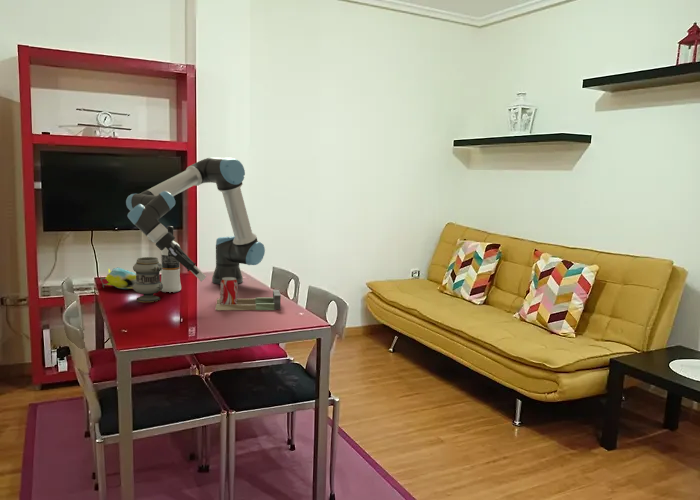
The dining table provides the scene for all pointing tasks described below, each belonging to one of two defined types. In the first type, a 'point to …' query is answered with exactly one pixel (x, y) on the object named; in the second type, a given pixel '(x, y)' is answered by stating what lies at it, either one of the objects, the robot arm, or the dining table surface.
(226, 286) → the soda can
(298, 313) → the dining table surface
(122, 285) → the decorative bird
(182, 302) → the dining table surface
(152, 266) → the apothecary jar
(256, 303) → the guide channel
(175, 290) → the vodka
